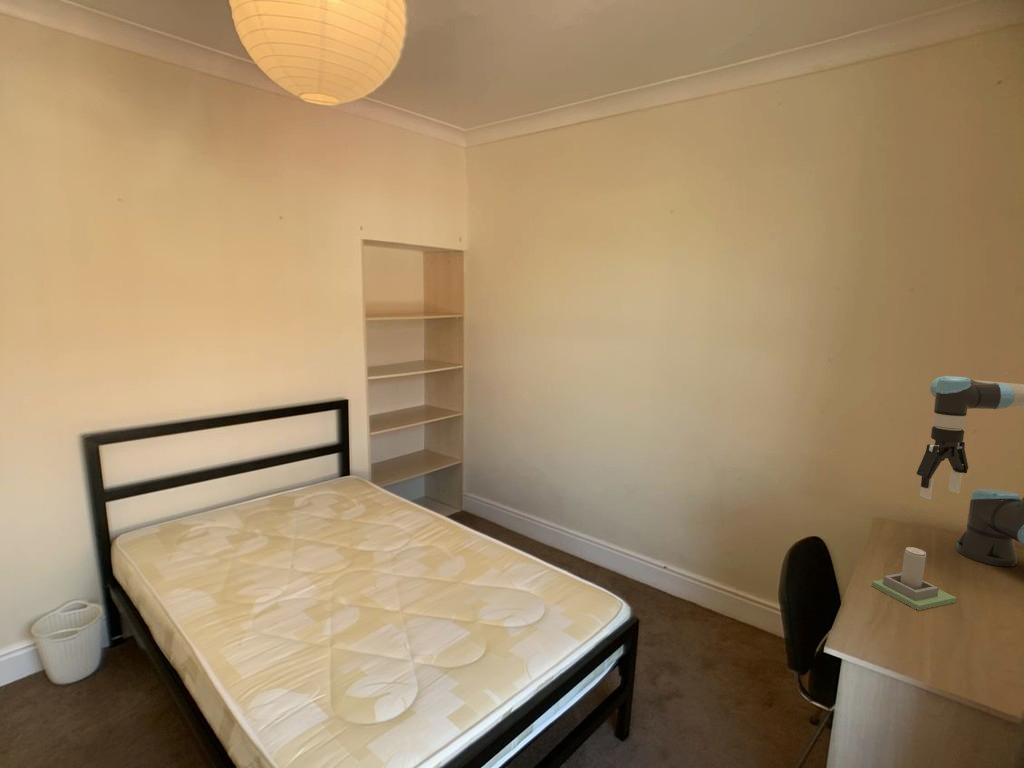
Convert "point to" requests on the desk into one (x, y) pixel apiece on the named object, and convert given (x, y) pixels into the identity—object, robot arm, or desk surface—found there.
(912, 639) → the desk surface
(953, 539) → the desk surface
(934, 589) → the green tray with frame
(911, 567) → the beverage can
